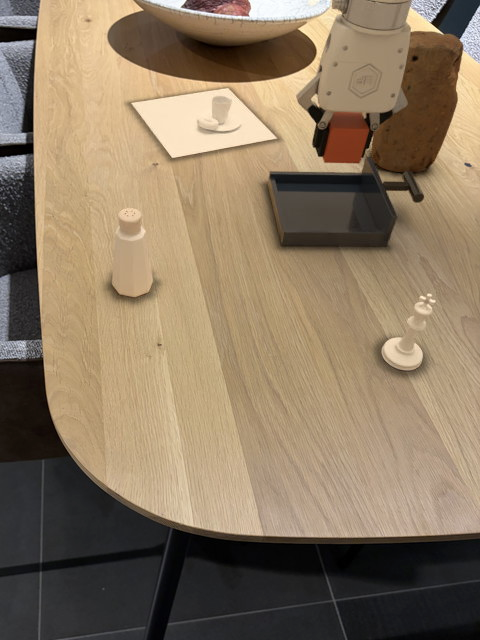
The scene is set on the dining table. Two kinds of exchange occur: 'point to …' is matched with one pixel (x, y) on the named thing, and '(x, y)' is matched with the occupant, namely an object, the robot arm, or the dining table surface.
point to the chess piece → (409, 339)
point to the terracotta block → (346, 138)
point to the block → (421, 104)
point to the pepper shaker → (131, 256)
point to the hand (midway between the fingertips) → (339, 151)
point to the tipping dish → (336, 206)
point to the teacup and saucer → (202, 122)
